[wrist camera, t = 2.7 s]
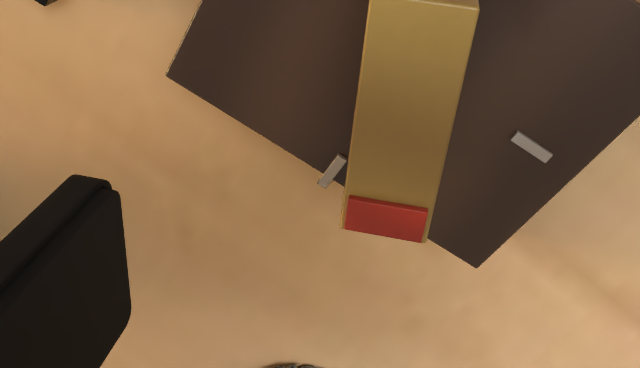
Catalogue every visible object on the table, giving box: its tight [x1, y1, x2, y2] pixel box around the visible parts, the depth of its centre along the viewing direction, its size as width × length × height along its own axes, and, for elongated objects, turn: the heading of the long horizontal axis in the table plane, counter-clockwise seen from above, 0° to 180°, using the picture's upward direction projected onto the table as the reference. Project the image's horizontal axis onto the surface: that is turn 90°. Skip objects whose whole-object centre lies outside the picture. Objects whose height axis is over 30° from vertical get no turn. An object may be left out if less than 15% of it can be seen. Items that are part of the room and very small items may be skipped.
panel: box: [166, 0, 640, 268], centre depth 20 cm, size 13×11×3 cm
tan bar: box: [340, 0, 480, 243], centre depth 17 cm, size 6×2×5 cm, turn 174°
